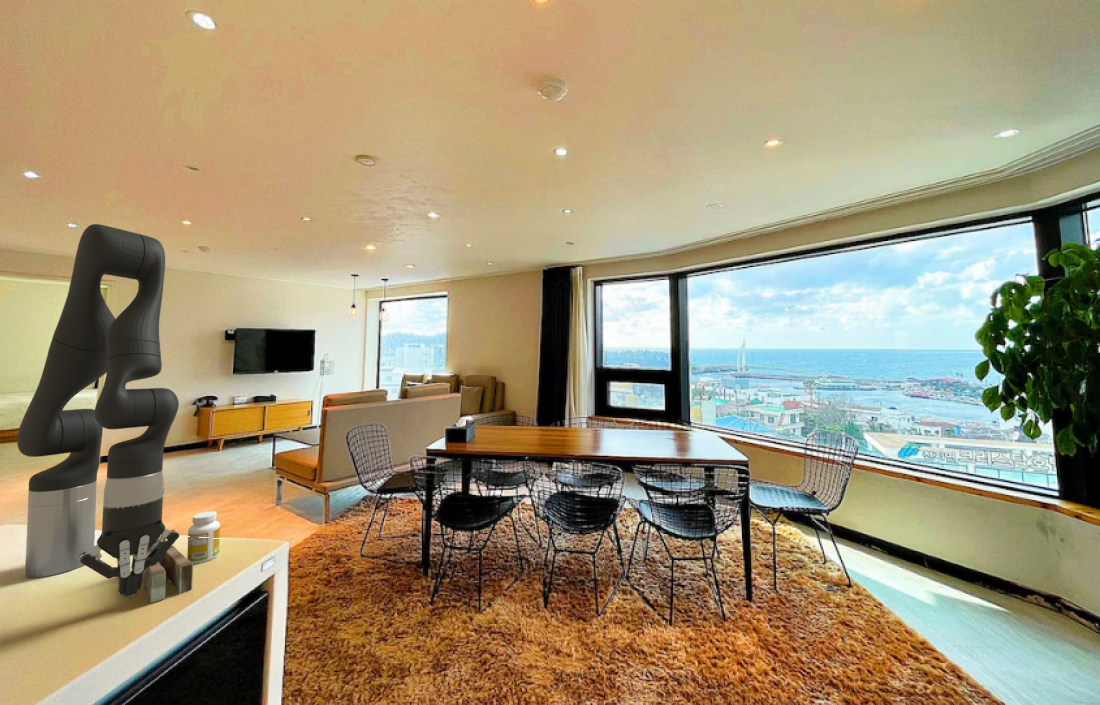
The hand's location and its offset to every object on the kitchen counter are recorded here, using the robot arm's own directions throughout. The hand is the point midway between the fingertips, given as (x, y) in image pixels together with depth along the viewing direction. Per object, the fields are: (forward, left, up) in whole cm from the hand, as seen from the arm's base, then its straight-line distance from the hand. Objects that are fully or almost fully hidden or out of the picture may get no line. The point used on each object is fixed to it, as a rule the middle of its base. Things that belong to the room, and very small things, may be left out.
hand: (129, 594), depth 71 cm
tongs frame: (-6, +6, -2) cm, 8 cm away
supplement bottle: (-11, +13, -2) cm, 17 cm away
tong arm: (-3, +4, -2) cm, 5 cm away
